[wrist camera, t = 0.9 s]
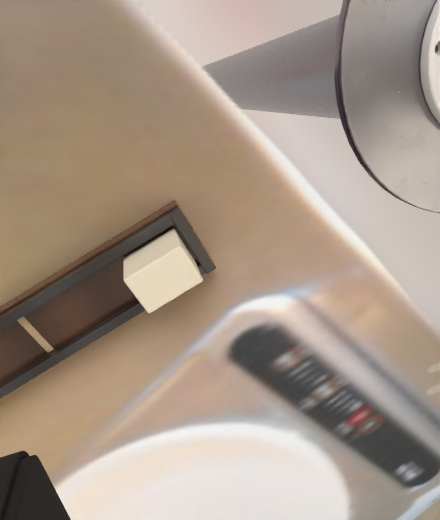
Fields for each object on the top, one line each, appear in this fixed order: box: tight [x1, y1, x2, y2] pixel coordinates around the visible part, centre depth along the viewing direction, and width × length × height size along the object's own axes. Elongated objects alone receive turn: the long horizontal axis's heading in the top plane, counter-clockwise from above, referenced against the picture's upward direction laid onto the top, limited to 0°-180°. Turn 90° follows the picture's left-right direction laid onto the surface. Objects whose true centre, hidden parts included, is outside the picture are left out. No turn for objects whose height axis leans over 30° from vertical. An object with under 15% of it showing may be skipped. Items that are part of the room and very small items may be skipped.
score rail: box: [0, 201, 216, 398], centre depth 29 cm, size 26×5×2 cm, turn 119°
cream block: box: [123, 228, 203, 314], centre depth 27 cm, size 4×3×4 cm
